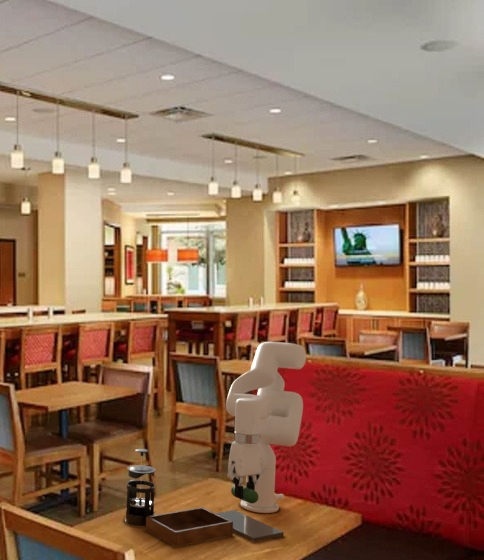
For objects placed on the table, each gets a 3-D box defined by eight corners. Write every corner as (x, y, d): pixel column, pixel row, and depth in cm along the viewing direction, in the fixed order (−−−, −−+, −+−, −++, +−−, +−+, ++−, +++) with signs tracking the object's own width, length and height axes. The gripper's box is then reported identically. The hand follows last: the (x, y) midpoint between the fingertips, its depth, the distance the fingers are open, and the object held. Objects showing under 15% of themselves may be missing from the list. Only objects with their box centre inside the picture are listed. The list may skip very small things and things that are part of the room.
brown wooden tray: (201, 521, 232) (202, 507, 232) (232, 536, 219) (233, 521, 219) (145, 531, 221) (146, 516, 221) (174, 548, 208) (175, 532, 208)
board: (234, 514, 239) (234, 509, 239) (283, 537, 220) (283, 532, 220) (205, 519, 233) (205, 514, 233) (253, 543, 214) (253, 538, 214)
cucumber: (237, 494, 232) (238, 482, 232) (261, 504, 223) (261, 491, 223) (228, 496, 230) (228, 483, 230) (251, 505, 221) (251, 492, 221)
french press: (161, 526, 226) (163, 452, 225) (134, 529, 222) (137, 454, 222) (143, 514, 237) (145, 443, 236) (117, 517, 233) (119, 445, 232)
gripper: (258, 433, 234) (256, 490, 234) (217, 437, 225) (215, 496, 226) (275, 438, 227) (273, 497, 227) (234, 443, 219) (231, 503, 219)
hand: (244, 496), depth 226 cm, fingers closed on cucumber, 4 cm apart
